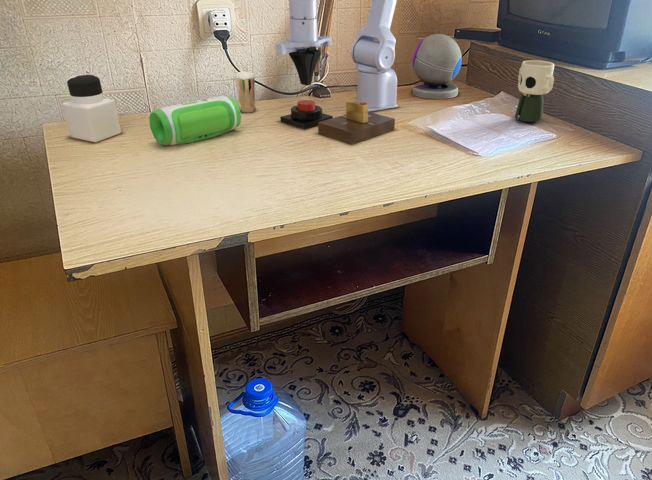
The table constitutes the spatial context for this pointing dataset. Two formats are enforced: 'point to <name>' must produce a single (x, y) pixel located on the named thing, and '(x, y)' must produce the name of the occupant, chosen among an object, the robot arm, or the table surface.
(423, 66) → the webcam
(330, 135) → the lock plate
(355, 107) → the tan red block
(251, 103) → the milkshake
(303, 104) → the release button
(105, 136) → the medicine bottle
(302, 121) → the black button base
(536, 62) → the character mug
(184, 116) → the speaker
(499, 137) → the table surface
